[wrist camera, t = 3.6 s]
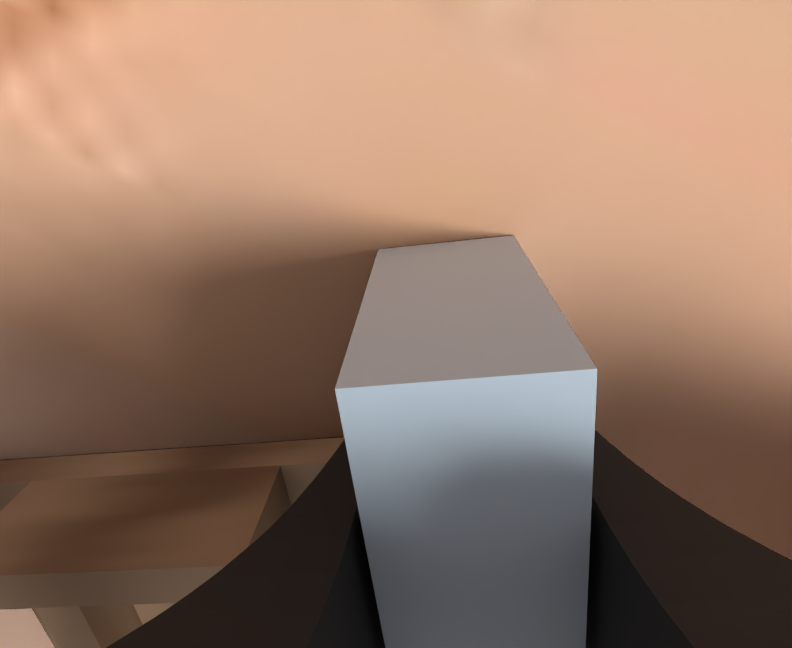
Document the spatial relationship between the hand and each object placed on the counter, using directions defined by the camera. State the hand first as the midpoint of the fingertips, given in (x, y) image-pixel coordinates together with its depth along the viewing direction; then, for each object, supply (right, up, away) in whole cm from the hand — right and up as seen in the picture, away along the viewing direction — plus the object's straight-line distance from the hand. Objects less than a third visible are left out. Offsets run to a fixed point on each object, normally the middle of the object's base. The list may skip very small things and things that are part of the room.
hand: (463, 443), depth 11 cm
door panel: (0, +1, +2) cm, 2 cm away
